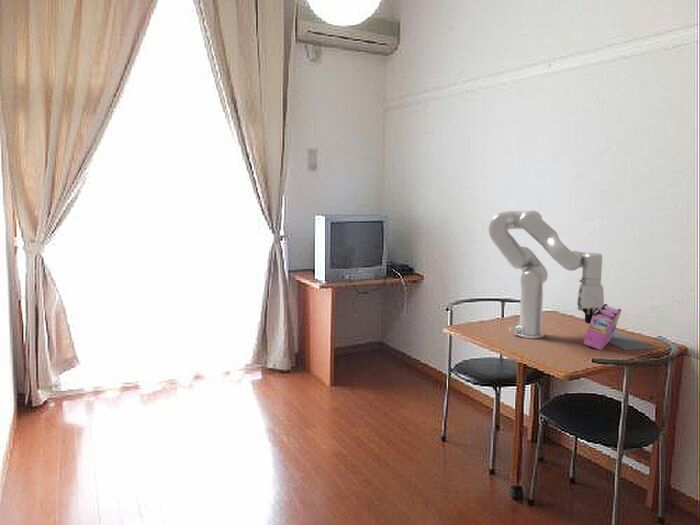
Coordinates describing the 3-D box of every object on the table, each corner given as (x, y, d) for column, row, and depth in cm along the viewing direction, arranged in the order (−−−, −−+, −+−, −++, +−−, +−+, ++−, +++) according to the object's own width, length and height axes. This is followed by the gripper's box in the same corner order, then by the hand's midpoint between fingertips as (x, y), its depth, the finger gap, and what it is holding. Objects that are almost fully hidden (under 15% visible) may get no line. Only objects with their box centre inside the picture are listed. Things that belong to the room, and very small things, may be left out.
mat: (625, 350, 231) (625, 349, 231) (591, 334, 254) (591, 333, 254) (654, 348, 233) (654, 347, 233) (618, 333, 256) (618, 332, 256)
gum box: (595, 329, 253) (604, 302, 249) (613, 336, 249) (623, 308, 245) (582, 343, 234) (592, 314, 230) (601, 350, 230) (611, 321, 226)
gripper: (580, 283, 231) (577, 326, 234) (612, 282, 234) (609, 324, 237) (570, 280, 239) (568, 321, 242) (601, 279, 241) (599, 320, 244)
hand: (588, 322), depth 239 cm, fingers closed
